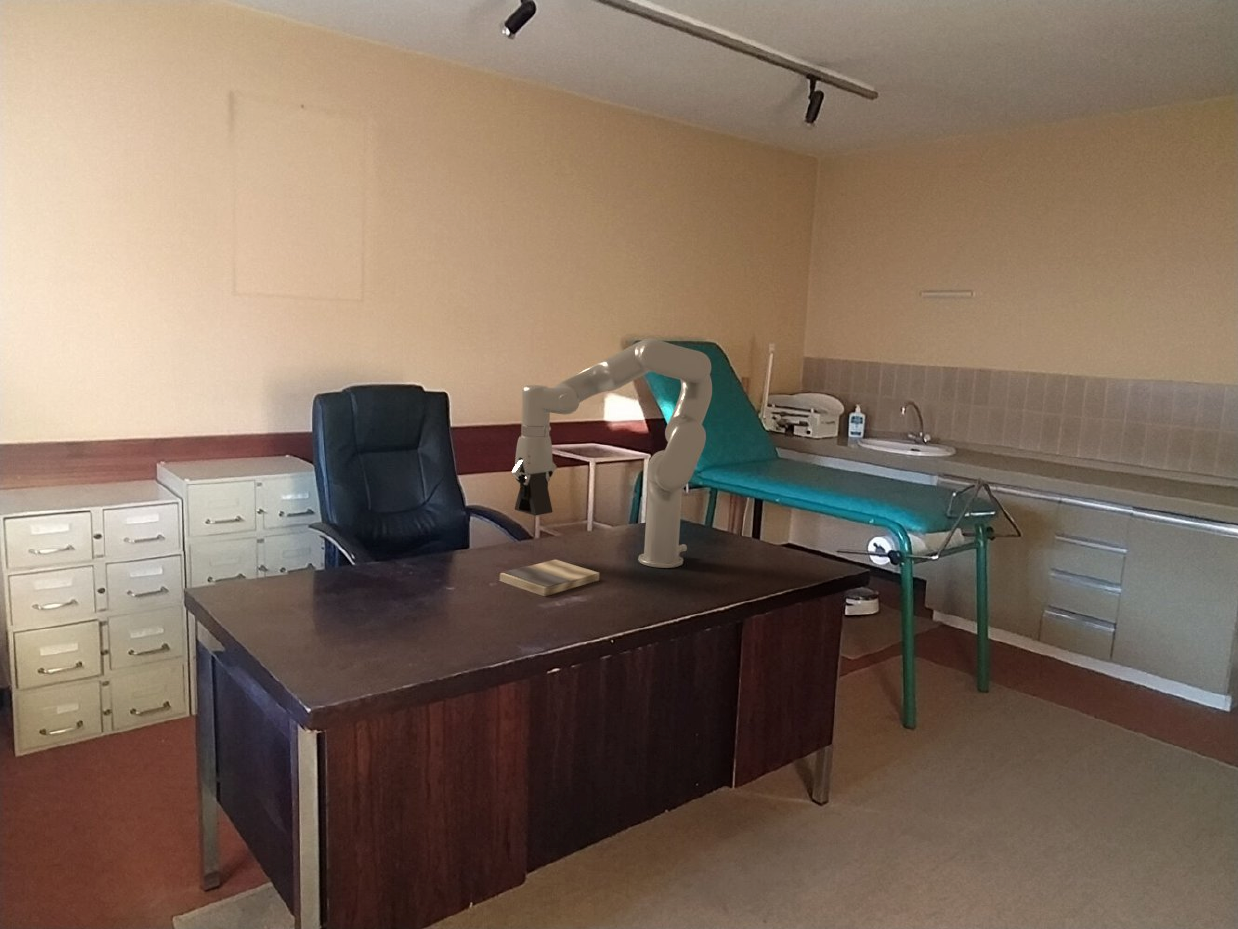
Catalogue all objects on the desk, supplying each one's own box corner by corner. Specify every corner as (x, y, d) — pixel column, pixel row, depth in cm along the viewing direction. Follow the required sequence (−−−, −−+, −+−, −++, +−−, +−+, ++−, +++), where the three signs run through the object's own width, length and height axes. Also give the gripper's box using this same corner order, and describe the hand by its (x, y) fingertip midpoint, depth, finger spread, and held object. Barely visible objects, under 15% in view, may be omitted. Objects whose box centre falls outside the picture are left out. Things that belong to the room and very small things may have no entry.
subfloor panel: (555, 566, 242) (555, 558, 242) (599, 580, 232) (599, 572, 232) (499, 581, 227) (499, 572, 227) (544, 596, 217) (544, 587, 217)
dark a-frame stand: (552, 512, 243) (553, 469, 241) (535, 515, 239) (536, 471, 237) (531, 506, 249) (532, 464, 247) (514, 509, 245) (515, 466, 243)
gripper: (548, 427, 249) (547, 490, 252) (501, 432, 236) (500, 499, 239) (567, 430, 244) (566, 495, 247) (520, 435, 231) (519, 503, 234)
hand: (533, 496), depth 243 cm, fingers closed on dark a-frame stand, 6 cm apart
